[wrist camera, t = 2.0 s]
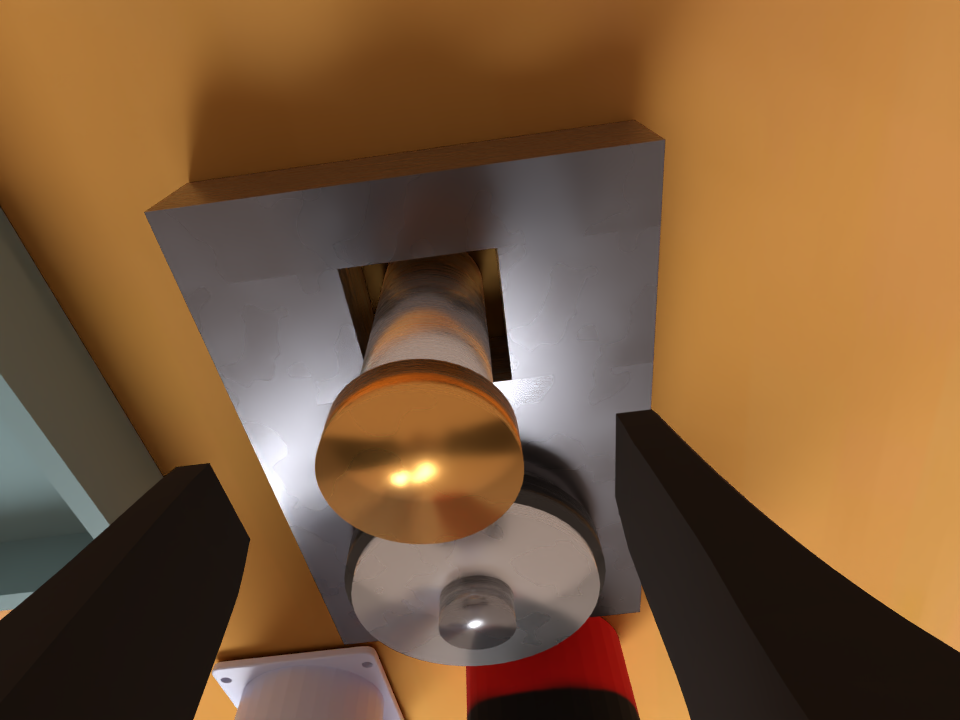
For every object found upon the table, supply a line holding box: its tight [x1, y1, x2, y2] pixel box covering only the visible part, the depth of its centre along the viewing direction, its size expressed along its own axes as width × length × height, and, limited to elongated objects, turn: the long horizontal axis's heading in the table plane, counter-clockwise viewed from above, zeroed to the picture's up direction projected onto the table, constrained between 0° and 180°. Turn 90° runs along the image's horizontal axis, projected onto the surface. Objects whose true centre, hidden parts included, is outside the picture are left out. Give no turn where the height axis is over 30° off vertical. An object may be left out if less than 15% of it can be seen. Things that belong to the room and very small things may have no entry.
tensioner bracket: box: [144, 120, 665, 666], centre depth 17 cm, size 18×12×6 cm, turn 7°
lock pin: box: [315, 252, 524, 544], centre depth 14 cm, size 4×4×8 cm
